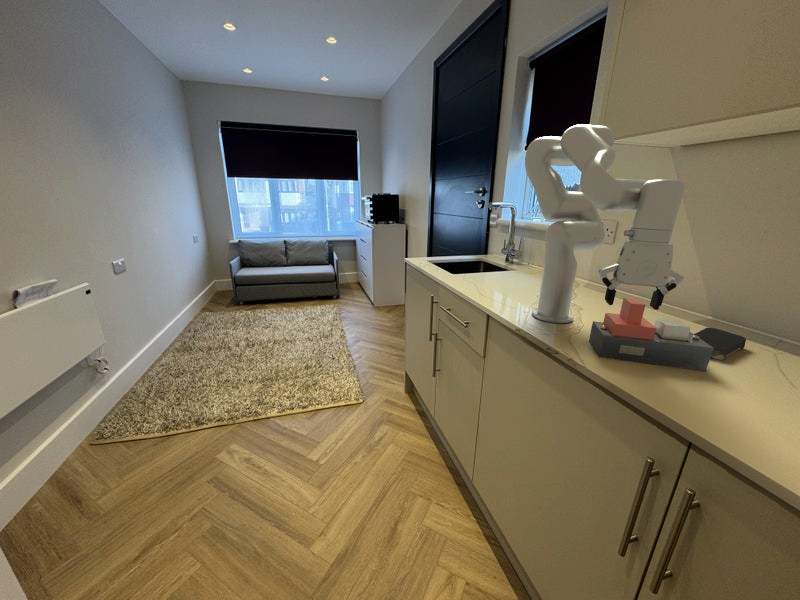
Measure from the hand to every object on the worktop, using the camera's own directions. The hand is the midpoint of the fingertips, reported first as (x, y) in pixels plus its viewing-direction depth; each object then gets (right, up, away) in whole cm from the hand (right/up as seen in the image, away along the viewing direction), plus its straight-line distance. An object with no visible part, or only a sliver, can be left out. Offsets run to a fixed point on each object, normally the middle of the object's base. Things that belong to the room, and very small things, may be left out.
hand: (630, 305), depth 79 cm
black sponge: (+27, -12, +7) cm, 30 cm away
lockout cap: (0, -6, +2) cm, 7 cm away
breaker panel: (+4, -13, +2) cm, 14 cm away
